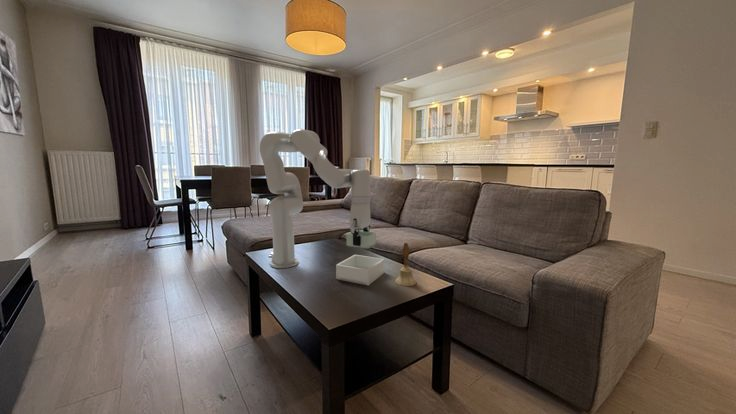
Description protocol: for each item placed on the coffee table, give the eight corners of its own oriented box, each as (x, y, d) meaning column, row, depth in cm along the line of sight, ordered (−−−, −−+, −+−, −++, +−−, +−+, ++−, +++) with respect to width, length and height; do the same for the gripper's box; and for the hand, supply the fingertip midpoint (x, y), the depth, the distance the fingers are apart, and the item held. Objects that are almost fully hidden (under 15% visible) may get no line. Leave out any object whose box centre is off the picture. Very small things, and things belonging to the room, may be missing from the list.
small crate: (346, 245, 124) (346, 233, 123) (354, 241, 130) (354, 230, 129) (368, 248, 119) (368, 236, 118) (375, 244, 125) (375, 232, 125)
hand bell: (406, 288, 114) (407, 247, 112) (390, 281, 120) (391, 242, 118) (420, 282, 119) (421, 243, 117) (405, 276, 126) (405, 239, 123)
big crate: (336, 279, 123) (336, 264, 122) (355, 267, 137) (354, 254, 136) (368, 285, 116) (368, 270, 115) (384, 272, 130) (384, 259, 129)
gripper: (362, 197, 131) (363, 237, 134) (341, 202, 116) (342, 247, 118) (378, 198, 128) (378, 239, 130) (358, 203, 113) (359, 249, 115)
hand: (361, 242), depth 124 cm, fingers closed on small crate, 7 cm apart
